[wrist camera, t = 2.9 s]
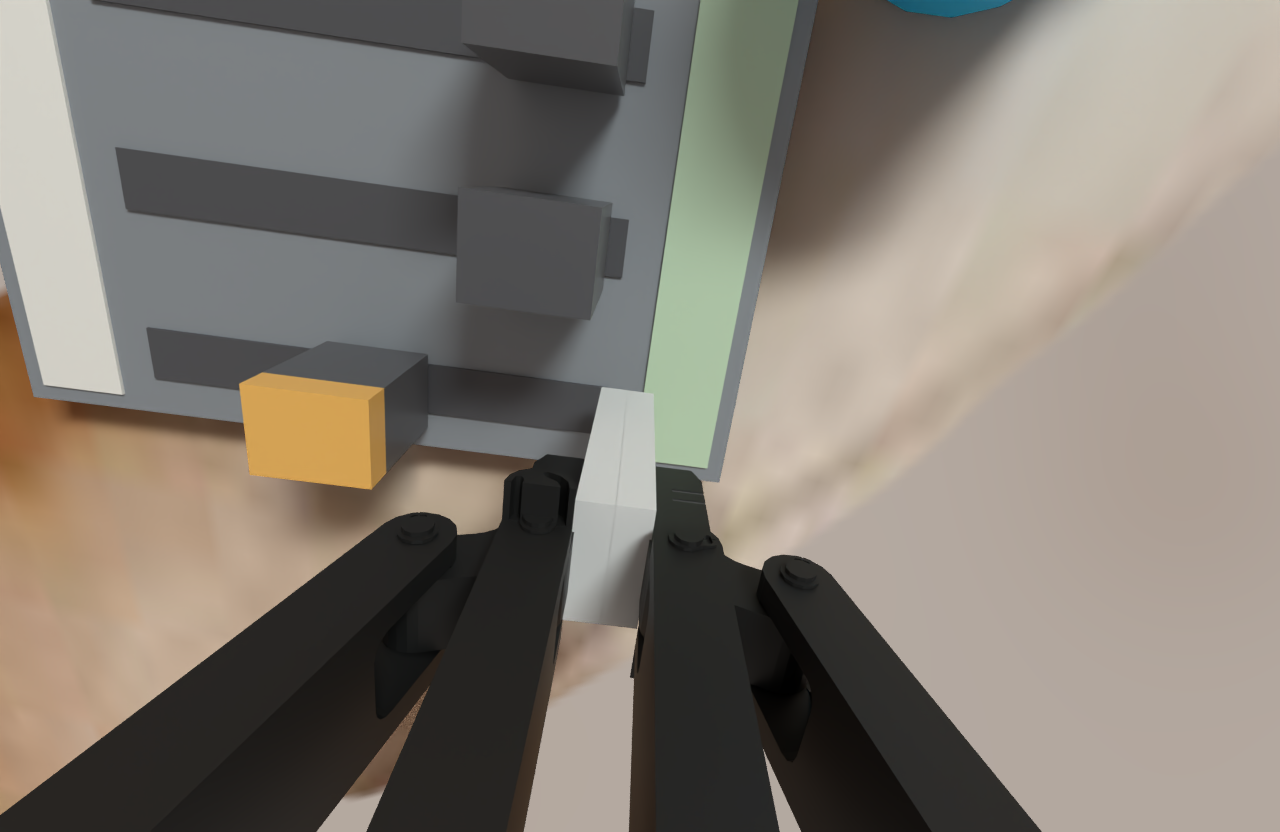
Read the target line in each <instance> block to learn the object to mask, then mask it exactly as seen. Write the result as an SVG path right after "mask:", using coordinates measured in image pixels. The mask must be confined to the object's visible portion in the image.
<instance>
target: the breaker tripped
mask: <svg viewBox="0 0 1280 832" xmlns="http://www.w3.org/2000/svg"><path fill="white" fill-rule="evenodd" d="M239 388H240V396H241V405H242V413H243V422H244V430H245V439H246V447H247V456H248V464H249V473H250V475H256V476H264V477H272V478H281V479H289V480H297V481H305V482H313V483H322V484H330V485H338V486H346V487H355V488H363V489H371V490H372V488H373V487H374V486H375V485H376V484H377V483H378V482H379V481H380V480H381V478H382V477H383V476H384V475H385V474H386V473H387V472H388V471H389V470H390V469H391V467H392V466H393V465H394V464H395V463H396V462H397V461H398V460H399V459H400V457H401V456H402V455H403V454H404V453H405V452H406V451H407V450H408V449H409V448H410V446H411V445H412V444H413V443H414V442H415V441H416V440H417V439H418V438H419V436H420V435H421V434H422V433H423V432H424V431H425V430H426V429H427V428H428V354H423V353H415V352H408V351H400V350H392V349H385V348H377V347H370V346H362V345H354V344H347V343H339V342H331V341H326V342H324V343H322V344H320V345H318V346H316V347H314V348H312V349H309V350H307V351H305V352H303V353H301V354H299V355H297V356H295V357H293V358H291V359H289V360H287V361H285V362H283V363H281V364H279V365H277V366H274V367H272V368H270V369H268V370H266V371H264V372H262V373H260V374H258V375H256V376H254V377H252V378H250V379H248V380H246V381H244V382H242V383H240V384H239Z"/></svg>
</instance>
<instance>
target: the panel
mask: <svg viewBox="0 0 1280 832" xmlns="http://www.w3.org/2000/svg"><path fill="white" fill-rule="evenodd" d="M817 4H818V0H635V5H634V14H633V23H632V32H631V41H630V50H629V59H628V68H627V77H626V86H625V95H624V96H619V95H613V94H606V93H599V92H593V91H586V90H579V89H573V88H566V87H559V86H553V85H546V84H539V83H533V82H526V81H519V80H513V79H508V78H506V77H505V76H504V75H502V74H501V73H500V72H499V71H497V70H496V69H495V68H493V67H492V66H491V65H489V64H488V63H487V62H486V61H484V60H483V59H482V58H480V57H479V56H478V55H477V54H475V53H474V52H473V51H471V50H470V49H469V48H468V47H466V46H465V45H464V44H462V43H461V27H462V0H0V264H1V268H2V272H3V276H4V280H5V284H6V288H7V292H8V296H9V300H10V304H11V308H12V312H13V316H14V320H15V323H16V327H17V331H18V335H19V339H20V343H21V347H22V351H23V355H24V359H25V363H26V367H27V371H28V375H29V379H30V383H31V387H32V391H33V395H34V397H40V398H48V399H56V400H64V401H72V402H80V403H88V404H96V405H104V406H112V407H120V408H128V409H136V410H144V411H152V412H160V413H168V414H176V415H184V416H192V417H200V418H208V419H216V420H224V421H232V422H240V423H244V422H243V413H242V405H241V396H240V388H239V384H240V383H242V382H244V381H246V380H248V379H250V378H252V377H254V376H256V375H258V374H260V373H262V372H264V371H266V370H268V369H270V368H272V367H274V366H277V365H279V364H281V363H283V362H285V361H287V360H289V359H291V358H293V357H295V356H297V355H299V354H301V353H303V352H305V351H307V350H309V349H312V348H314V347H316V346H318V345H320V344H322V343H324V342H326V341H331V342H339V343H347V344H354V345H362V346H370V347H377V348H385V349H392V350H400V351H408V352H415V353H423V354H428V428H427V429H426V430H425V431H424V432H423V433H422V434H421V435H420V436H419V438H418V439H417V440H416V441H415V442H414V443H413V444H416V445H424V446H432V447H440V448H448V449H456V450H464V451H472V452H480V453H488V454H496V455H504V456H512V457H520V458H528V459H536V460H539V459H540V458H542V457H544V456H545V455H547V454H551V455H559V456H567V457H574V458H582V459H585V456H586V452H587V448H588V444H589V439H590V435H591V431H592V426H593V422H594V418H595V414H596V409H597V405H598V401H599V397H600V392H601V388H602V387H607V388H615V389H622V390H630V391H637V392H645V393H652V394H654V428H655V466H657V467H665V468H673V469H681V470H689V471H692V472H693V473H694V474H695V475H696V476H697V477H698V479H699V480H704V481H712V482H719V481H720V476H721V471H722V466H723V461H724V457H725V452H726V447H727V442H728V437H729V432H730V427H731V422H732V418H733V413H734V408H735V403H736V398H737V393H738V388H739V384H740V379H741V374H742V369H743V364H744V359H745V354H746V349H747V345H748V340H749V335H750V330H751V325H752V320H753V315H754V311H755V306H756V301H757V296H758V291H759V286H760V281H761V277H762V272H763V267H764V262H765V257H766V252H767V247H768V242H769V238H770V233H771V228H772V223H773V218H774V213H775V208H776V204H777V199H778V194H779V189H780V184H781V179H782V174H783V170H784V165H785V160H786V155H787V150H788V145H789V140H790V135H791V131H792V126H793V121H794V116H795V111H796V106H797V101H798V97H799V92H800V87H801V82H802V77H803V72H804V67H805V62H806V58H807V53H808V48H809V43H810V38H811V33H812V28H813V24H814V19H815V14H816V9H817ZM458 187H507V188H514V189H521V190H528V191H535V192H542V193H549V194H556V195H563V196H570V197H577V198H584V199H591V200H598V201H605V202H612V203H613V204H612V213H611V222H610V231H609V240H608V249H607V258H606V267H605V276H604V285H603V291H602V294H601V296H600V299H599V301H598V303H597V306H596V308H595V311H594V313H593V315H592V318H591V320H583V319H575V318H568V317H561V316H553V315H546V314H538V313H531V312H524V311H516V310H509V309H501V308H494V307H486V306H479V305H472V304H464V303H457V302H456V264H457V217H458Z"/></svg>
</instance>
